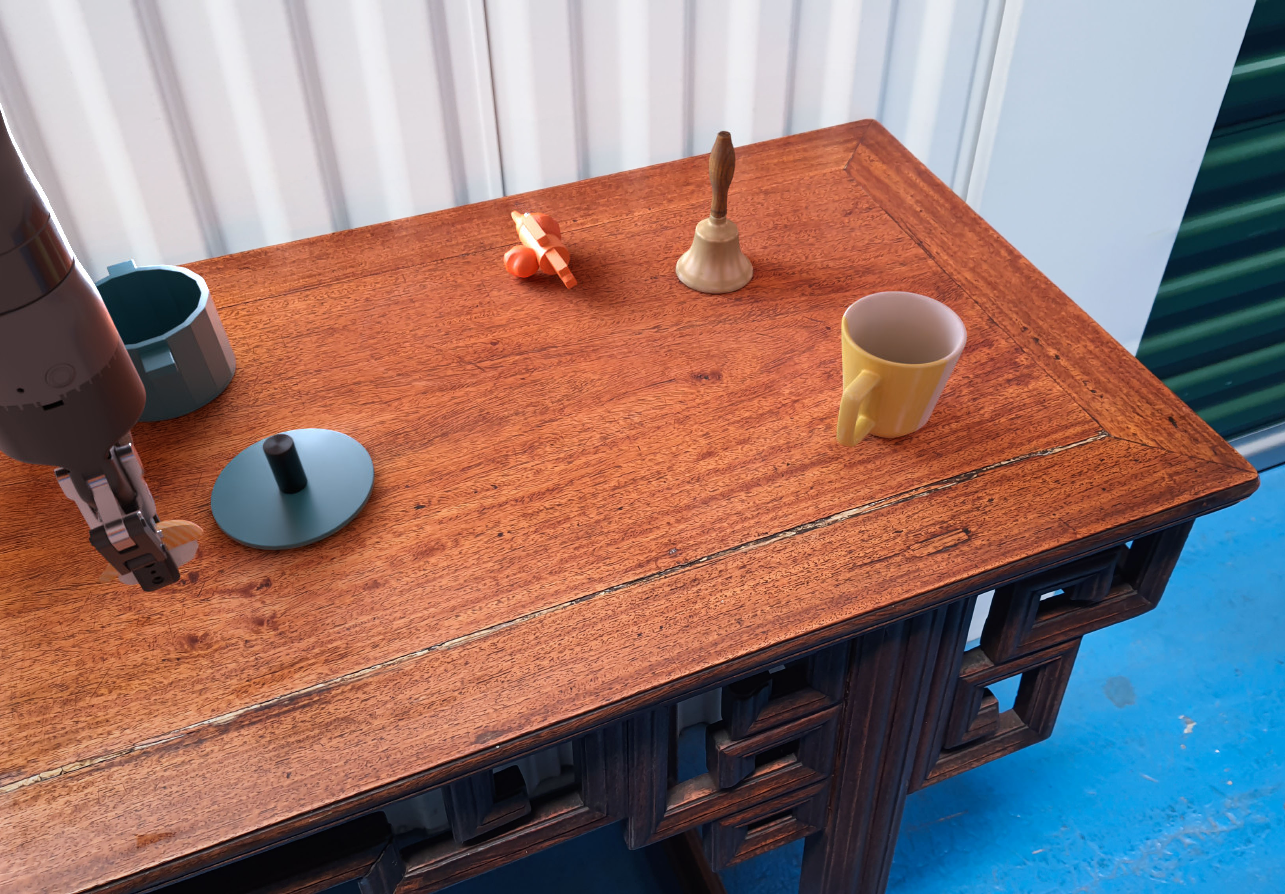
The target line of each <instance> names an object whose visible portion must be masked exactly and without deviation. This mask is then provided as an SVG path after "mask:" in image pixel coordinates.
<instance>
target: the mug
mask: <svg viewBox="0 0 1285 894" xmlns="http://www.w3.org/2000/svg"><path fill="white" fill-rule="evenodd" d="M840 327H841V328H840V331H841V333H840V334H841V336H840V337H841V339H840V340H841V364H842V395H841V399H840V403H839V408H838V409H839V410H838V416H837V424H836V433H835V435H836V442H837V443H838V444H839V445H842V447H843V446H844V447H846V448H855V447H856V446H857V445H858V444H860V442H862V441H863V440H864V439H865V438H866V436H868V435H869V434H870V435H872V436H875V437H878V438H885V439H895V438H900V437H904V436H906V435H909V434H912V433H915V432H917V431H919V430H920V429H922V428H923V427H924V426H925V425H926V424H927V423H928V421H930V418H931V416H932V414H933V412H934V410H935V407H936V406H937V403H938V401H939V400H940V398H941V396H942V393H943V392H944V389H945V388H946V385H947V383H948V381H949V380H950V378H951V376H952V374H953V372H954V370H955V368H956V366H957V364H958V362H959V360H960V357H961V355H962V353H963V351H964V349H965V347H966V345H967V340H968V333H967V328H966V326H965V323H964V322H963V320H962V319H961V317H960V316H959V315H958V314H957V313H956V312H955V311H954V310H952V308H951V307H949V306H948V305H946V304H944V303H943V302H942V301H939V300H937V299H934V298H932V297H930V296H926V295H922V294H920V293H914V292H908V291H894V290H893V291H892V290H891V291H881V292H875V293H872V294H869V295H866V296H863V297H861V298H859V299H856V301H854V302H853V303H851V304H850V305H849V306H848V308H847V309H846V310H845V312H844V314H843V316H842V318H841V325H840Z"/></svg>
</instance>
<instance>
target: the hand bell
mask: <svg viewBox="0 0 1285 894" xmlns="http://www.w3.org/2000/svg"><path fill="white" fill-rule="evenodd" d="M712 145H713V146H712V148H711V151H710V154H709V157H708V158H709V159H708V176H709V181H710V185H711V193H712V195H711V205H710V212H709V217H706V218H704V219H702V220H700V221H699V222H698V223H697V225H696V226H695V231H694V235H693V239H692V243H691V246H690V248H689V249H688V250H686V251H685V252H684V253H682V254H681V256H680V257H679V259H678V260H677V262H676V264H675V273H676V276H677V278H678V280H679V281H680V282H681V283H682V284H683V285H686V287H688V288H690V289H692V290H694V291H697V292H701V293H705V294H727V293H732V292H735V291H738V290H740V289H742V288H744V287H745V286H747V285H748V284H749V283H750V281H751V280H752V278H753V276H754V268H753V265H752V263H751V260H750V259H749V258H748V256H747V255H745V254H744V253H743V251H742V249H741V245H740V235H739V232H740V231H739V228H738V225H737V224H736V223H735V222H734V221H733V220H731V219H729V218H727V214H728V194H729V188H730V186H731V184H732V182H733V179H734V175H735V169H736V152H735V147H734V144H733V140H732V134H731V132H730V131H727V130H720V131H719V132H717V134H716V139H715V141H714V143H713V144H712Z"/></svg>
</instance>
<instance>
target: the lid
mask: <svg viewBox="0 0 1285 894" xmlns="http://www.w3.org/2000/svg"><path fill="white" fill-rule="evenodd" d="M375 481H376V471H375V466H374V462H373V460H372V457H371V455H370V453H369V451H368V450H367V449H366V448H365V447H364V446H363V444H361V443H360V442H359V441H357V440H356V439H355V438H353V437H351V436H349V435H348V434H345V433H343V432H340V431H337V430H332V429H327V428H314V427H313V428H311V427H310V428H298V429H292V430H286V431H283V432H279V433H276V434H273V435H270V436H267V437H264V438H262V439H260V440H258V441H257V442H254V443H253V444H250V445H249V446H248V447H246V448H245V449H243V450H242V451H240V452H239V453H238V454H237V455H235V456H234V457H233V458H232V459H231V460H230V461H229V462H228V463H227V464H226V465H225V466H224V468H223V469H222V470H221V471H220V473H219V475H218V476H217V478H216V480H215V482H214V484H213V487H212V490H211V495H210V509H211V514H212V517H213V519H214V521H215V523H216V524H217V526H218V528H219V529H220V530H221V531H222V533H223V534H225V535H226V536H227V537H228V538H229V539H231V540H232V541H235V542H236V543H237V544H241V545H243V546H245V547H250V548H253V549H258V550H265V551H266V550H267V551H279V550H281V551H282V550H290V549H297V548H301V547H305V546H309V545H311V544H314V543H317V542H319V541H322V540H324V539H326V538H328V537H330V536H333V535H334V534H336V533H338V532H339V531H340V530H342V529H343V528H344V527H346V526H347V525H349V524H350V523H351V522H352V521H353V520H354V519H355V518H357V516H358V515H359V514H360V513H361V512H362V510H363V509H364V508H365V506H366V505H367V504H368V502H369V499H370V498H371V496H372V493H373V492H374V491H373V490H374V487H375Z"/></svg>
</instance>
